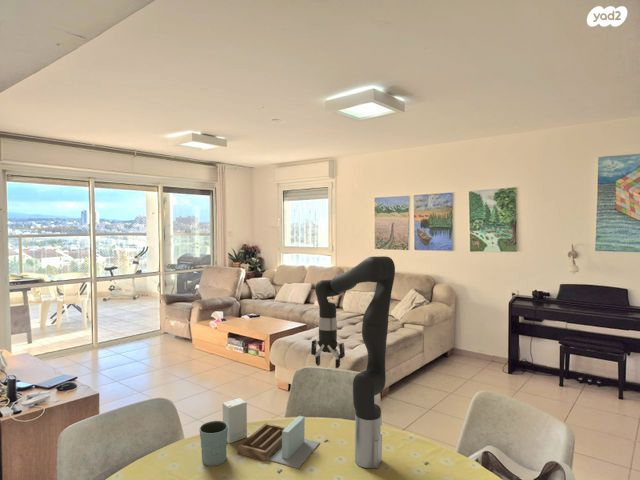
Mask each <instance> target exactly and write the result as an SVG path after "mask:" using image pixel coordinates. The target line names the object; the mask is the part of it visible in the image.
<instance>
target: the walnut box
mask: <svg viewBox="0 0 640 480" xmlns="http://www.w3.org/2000/svg"><path fill="white" fill-rule="evenodd" d="M285 428H286V427H284V426H280V425H275V424H272V423H268V422H267V423H264V424H263V425H262V426H260V427H259V428H258V429H257V430H255V431H254V432H253V433H252V434H250V435H249V436H247V437H246V439H245V440H243V441H242V442H241V443H240V444H238V448H237V449H238V454H239V455H241V456H246V457H251V458H254V459H257V460H262V461H265V462H266V461H267V460H269V459H270V458H271V457H272V456H273V455H274V454H275V453H276V452H277V451H278V450H279V449H280V448H281V447H282V431H283V430H284V429H285Z"/></svg>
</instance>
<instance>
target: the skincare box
mask: <svg viewBox="0 0 640 480" xmlns="http://www.w3.org/2000/svg"><path fill="white" fill-rule="evenodd" d="M247 406H248V405H247V401H245V400H244V399H243V398H241V397H238V398H235V399H231V400H228V401H225V402H222V421H223V422H225V423H227V425H228V432H227V444H232V443H234V442H238V441H239V440H242V439H245V438H248V427H247V426H248V419H247V417H248V415H247V414H248V413H247V412H248V411H247V409H248V407H247Z"/></svg>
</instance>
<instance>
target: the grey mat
mask: <svg viewBox="0 0 640 480" xmlns="http://www.w3.org/2000/svg"><path fill="white" fill-rule="evenodd" d="M320 443H321V442H319V441H314V440H310V439H306V438H304V443H303V444H302V445H301V446H300V447H299V448H298V449H297V450H296V451H295V452H294V453H293V455H292V456H291V457H290V458H289V459H284V458H282V446H281V447H279V448H278V449H277V450H276V451H275V452H274V453H273V454H272V455H271V456H270V457H269V458H268V462H272V463H276V464H280V465H284V466H287V467H292V468H294V469H299V468H300V467H302V465H304V463H305V462H306V460H307V459H308V458H309V457H310V455H312V454H313V452H314V451H315V450H316V449H317V448H318V447H319V445H320Z"/></svg>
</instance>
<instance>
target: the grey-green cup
mask: <svg viewBox="0 0 640 480" xmlns="http://www.w3.org/2000/svg"><path fill="white" fill-rule="evenodd" d="M227 432H228V425H227V423H225V422H223V420H213V421H208V422H205V423H203V424H201V425H200V427H199V436H200V448H201V461H202V464H203V465H205V466H218V465H221V464H222V463H224V462H225V461H226V460H227V445H228V442H227Z"/></svg>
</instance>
